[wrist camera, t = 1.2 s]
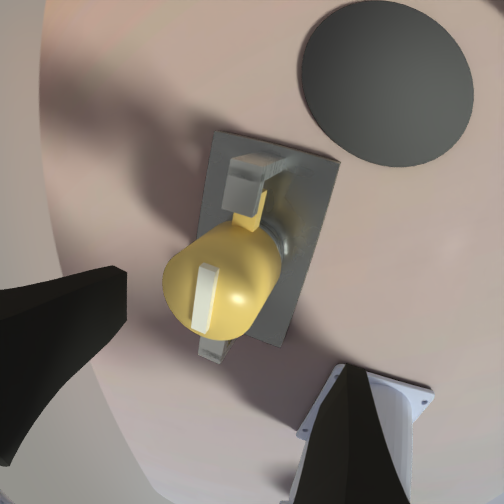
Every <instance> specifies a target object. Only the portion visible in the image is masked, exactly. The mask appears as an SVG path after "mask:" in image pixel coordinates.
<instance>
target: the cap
mask: <svg viewBox="0 0 504 504" xmlns="http://www.w3.org/2000/svg"><path fill="white" fill-rule="evenodd" d="M266 194H267V190H266V189H263V190H262V194H261V199H260V203H259V207H258V212H257V214H256V215H255V216H254V217H252V218H250V217H247V216H244V215H241V214H237V213H234V214H233V219H232V220H230V221H226V222H223V223H220V224H218V225H217V226H215V227H214V228H213V229H211V230H210V231H208V232H207V233H206V234H204V235H203V236H201V237H200V238H199V239H197V240H196V241H194V242H193V243H192V244H190V245H189V246H187V247H186V248H185V249H183V250H182V251H180V252H179V253H178V254H176V255H175V256H174V257H173V258H172V259H171V260H170V261H169V262H168V264H167V265H166V267H165V270H164V273H163V279H162V286H163V292H164V296H165V299H166V302H167V304H168V306H169V308H170V309H171V311H172V313H173V314H174V315H175V317H176V318H177V319H178V320H179V321H180V322H181V323H182V324H183V325H184V326H185V327H187V328H188V329H189V330H191V331H192V332H194V333H196V334H198V335H200V336H202V337H205V338H208V339H212V340H231V339H234V338H237V337H239V336H241V335H243V334H244V333H245V332H246V331H247V330H248V329H249V328H250V327H251V325H252V323H253V322H254V320H255V318H256V317H257V315H258V313H259V312H260V310H261V308H262V307H263V305H264V303H265V302H266V300H267V298H268V296H269V295H270V293H271V291H272V290H273V288H274V286H275V284H276V283H277V281H278V279H279V276H280V273H281V257H280V253H279V250H278V248H277V246H276V244H275V242H274V241H273V239H272V238H271V237H270V236H269V235H268V234H267V233H266V232H265V231H264V230H263V229H261V228H260V227H259V224H260V219H261V215H262V211H263V207H264V202H265V198H266Z"/></svg>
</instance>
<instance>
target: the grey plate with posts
mask: <svg viewBox="0 0 504 504" xmlns="http://www.w3.org/2000/svg"><path fill="white" fill-rule="evenodd" d="M340 163H341V162H338V161H335V160H332V159H329V158H325V157H322V156H319V155H315V154H312V153H308V152H305V151H301V150H298V149H294V148H291V147H287V146H283V145H279V144H276V143H272V142H268V141H264V140H260V139H256V138H251V137H247V136H243V135H238V134H234V133H230V132H225V131H214V135H213V141H212V146H211V152H210V157H209V163H208V169H207V174H206V180H205V186H204V192H203V199H202V205H201V211H200V218H199V224H198V231H197V238H196V240H197V239H199V238H200V237H201V236H203V235H204V234H206V233H207V232H208V231H210V230H211V229H213V228H214V227H215V226H217V225H218V224H220V223H223V222H226V221H230V220H232V219H233V214H234V213H237V214H241V215H244V216H247V217H250V218H252V217H254V216H255V215H256V214H257V212H258V207H259V203H260V199H261V194H262V190H263V189H266V190H267V194H266V198H265V202H264V207H263V211H262V215H261V219H260V224H259V227H260V228H261V229H263V230H264V231H265V232H266V233H267V234H268V235H269V236H270V237H271V238H272V239H273V241H274V242H275V244H276V246H277V248H278V250H279V253H280V257H281V273H280V276H279V279H278V281H277V283H276V284H275V286H274V288H273V290H272V291H271V293H270V295H269V296H268V298H267V300H266V302H265V303H264V305H263V307H262V308H261V310H260V312H259V313H258V315H257V317H256V318H255V320H254V322H253V323H252V325H251V327H250V328H249V329H248V330H247V331H246V332H245V333H244V334H245V335H248V336H250V337H253V338H255V339H258V340H261V341H263V342H266V343H268V344H271V345H274V346H276V347H279V348H281V345H282V343H283V341H284V338H285V335H286V333H287V330H288V327H289V324H290V321H291V319H292V316H293V313H294V310H295V307H296V304H297V301H298V298H299V296H300V293H301V290H302V287H303V284H304V281H305V278H306V275H307V272H308V269H309V266H310V263H311V260H312V257H313V253H314V250H315V247H316V244H317V241H318V238H319V235H320V231H321V228H322V225H323V222H324V218H325V215H326V212H327V208H328V205H329V202H330V198H331V195H332V191H333V188H334V185H335V181H336V178H337V174H338V171H339V167H340ZM236 339H237V338H234V339H231V340H212V339H208V338H205V337H202V336H200V342H199V349H198V355H199V356H201V357H204V358H206V359H208V360H211V361H213V362H215V363H218V364H221V362H222V361H223V359H224V357H225V356H226V354H227V353H228V351H229V350H230V348H231V346H232V345H233V343H234V342H235V340H236Z"/></svg>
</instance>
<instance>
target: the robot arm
mask: <svg viewBox="0 0 504 504" xmlns="http://www.w3.org/2000/svg"><path fill="white" fill-rule="evenodd" d="M126 321H127V272H125V271H123V270H121V269H119V268H117V267H115V266H107V267H102V268H98V269H93V270H89V271H85V272H81V273H77V274H74V275H70V276H66V277H62V278H58V279H54V280H50V281H46V282H41V283H36V284H32V285H27V286H23V287H17V288H12V289H4V290H0V466H6V467H7V466H10V464H11V462H12V459H13V458H14V456H15V454H16V452H17V450H18V448H19V446H20V444H21V443H22V441H23V439H24V438H25V436H26V435H27V433H28V431H29V430H30V428H31V427H32V425H33V424H34V422H35V421H36V419H37V418H38V417H39V415H40V414H41V412H42V411H43V409H44V408H45V407H46V406H47V404H48V403H49V402H50V400H51V399H52V398H53V397H54V396H55V394H56V393H57V392H58V391H59V389H60V388H61V387H62V386H63V385H64V384H65V383H66V382H67V381H68V380H69V379H70V378H71V377H72V376H73V375H74V374H75V373H77V371H79V370H80V369H81V368H82V367H83V366H84V365H85V364H86V363H87V362H88V361H89V360H91V359H92V358H93V357H94V356H95V355H96V354H97V353H98V352H99V351H100V350H101V349H102V348H103V347H104V346H105V345H107V344H108V343H109V342H110V340H111V339H112V338H113V337H114V336H115V335H116V333H117V332H118V331H119V330H120V328H121V327H122V326H123V324H124V323H125V322H126ZM336 375H339V376H336ZM434 397H435V394H434V391H432V390H429V389H425V388H422V387H418V386H414V385H411V384H407V383H404V382H400V381H397V380H393V379H390V378H387V377H383V376H380V375H377V374H373V373H370V372H367V371H366V370H365V369H362V368H359V367H356V366H353V365H350V364H347V363H346V365H345V364H338V365H336V366H335V367H334V369H333V371H332V373H331V375H330V376H329V378H328V380H327V382H326V384H325V385H324V387H323V389H322V391H321V392H320V394H319V396H318V398H317V399H316V401H315V403H314V404H313V406H312V408H311V410H310V411H309V413H308V414H307V416H306V418H305V419H304V421H303V423H302V424H301V426H300V428H299V429H298V431H297V433H296V436H297V437H298V438H299V439H302V440H305V441H306V443H305V446H304V449H303V453H302V456H301V459H300V462H299V465H298V468H297V472H296V475H295V478H294V481H293V484H292V487H291V490H290V494H289V501H280V503H279V504H410V495H411V479H412V445H413V433H412V423H413V422H414V421H415V420H416V419H417V418H418V417H419V416H420V414H421V413H422V412H423V411H424V410H425V409H426V407H427V406H428V405H429V404H430V403H431V401H432V400H433V399H434ZM423 400H425V401H423ZM0 504H14V503H13V502H12V501H11V500H10V499H9V498H8V497H7V496H6V495H5V494H4V493H3V492H2V491H1V490H0Z"/></svg>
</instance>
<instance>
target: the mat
mask: <svg viewBox="0 0 504 504" xmlns="http://www.w3.org/2000/svg"><path fill="white" fill-rule="evenodd" d="M302 84H303V90H304V94H305V98H306V100H307V103H308V106H309V108H310V110H311V112H312V114H313V116H314V118H315V119H316V121H317V122H318V124H319V125H320V127H321V128H322V129H323V130H324V131H325V133H326V134H327V135H328V136H329V137H330V138H331V139H332V140H333V141H334V142H336V143H337V144H338V145H339V146H340V147H342V148H343V149H345V150H346V151H347V152H349V153H351V154H353V155H354V156H356V157H358V158H360V159H363V160H365V161H368V162H371V163H374V164H378V165H382V166H389V167H409V166H416V165H420V164H424V163H427V162H429V161H432V160H434V159H436V158H438V157H439V156H441V155H443V154H444V153H445V152H447V151H448V150H449V149H450V148H452V147H453V145H454V144H455V143H456V142H457V141H458V140H459V139H460V137H461V136H462V134H463V133H464V131H465V129H466V127H467V125H468V123H469V120H470V116H471V113H472V108H473V101H474V89H473V81H472V76H471V72H470V68H469V66H468V63H467V61H466V58H465V56H464V54H463V53H462V51H461V49H460V47H459V46H458V44H457V43H456V42H455V40H454V39H453V38H452V36H451V35H450V34H449V33H448V32H447V31H446V30H445V29H444V28H443V27H442V26H441V25H440V24H438V23H437V22H436V21H435V20H433V19H432V18H430V17H429V16H427V15H426V14H424V13H422V12H420V11H418V10H416V9H414V8H411V7H409V6H406V5H403V4H399V3H395V2H388V1H365V2H359V3H355V4H352V5H349V6H346V7H344V8H342V9H340V10H338V11H336V12H334V13H333V14H331V15H330V16H329V17H328V18H326V19H325V20H324V21H323V22H322V23H321V24H320V25H319V26H318V27H317V29H316V30H315V31H314V33H313V34H312V36H311V38H310V40H309V42H308V44H307V46H306V49H305V53H304V56H303V62H302Z"/></svg>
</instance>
